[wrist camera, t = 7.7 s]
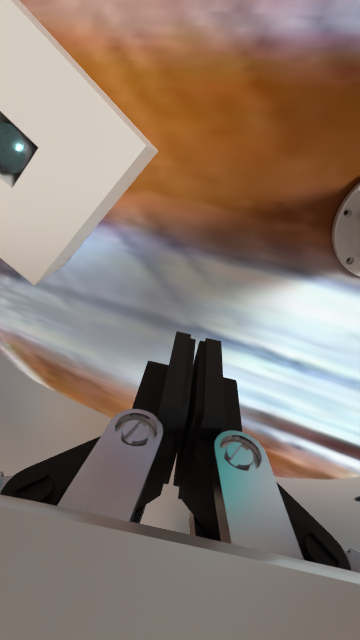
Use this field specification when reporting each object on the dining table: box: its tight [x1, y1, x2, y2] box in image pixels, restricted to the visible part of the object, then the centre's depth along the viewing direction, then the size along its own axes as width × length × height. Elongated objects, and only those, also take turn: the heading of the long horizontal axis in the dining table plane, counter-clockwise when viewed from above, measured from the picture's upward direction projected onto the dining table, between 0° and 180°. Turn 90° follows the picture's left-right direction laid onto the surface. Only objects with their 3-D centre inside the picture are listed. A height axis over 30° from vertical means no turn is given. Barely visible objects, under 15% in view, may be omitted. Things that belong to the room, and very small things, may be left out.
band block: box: [0, 0, 158, 286], centre depth 31 cm, size 18×18×8 cm
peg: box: [0, 122, 39, 173], centre depth 30 cm, size 4×4×8 cm
